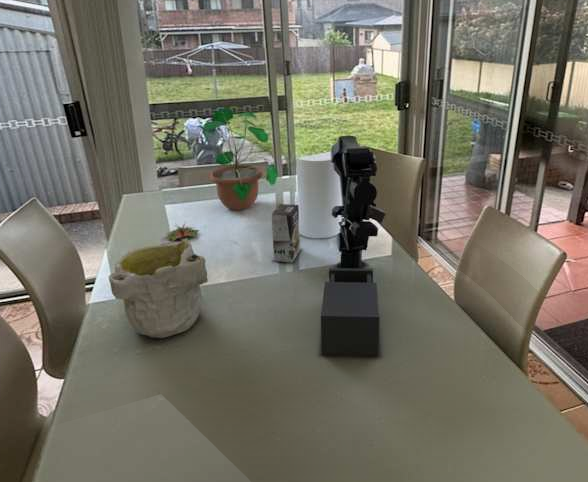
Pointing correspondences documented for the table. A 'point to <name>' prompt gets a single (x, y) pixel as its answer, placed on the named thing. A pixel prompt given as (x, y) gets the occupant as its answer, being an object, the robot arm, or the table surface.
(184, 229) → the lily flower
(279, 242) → the coffee box
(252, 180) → the potted plant
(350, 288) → the dark grey rectangular box
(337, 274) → the dark grey boxy piece
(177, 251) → the ceramic vessel
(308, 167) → the cylinder
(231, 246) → the table surface
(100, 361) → the table surface
